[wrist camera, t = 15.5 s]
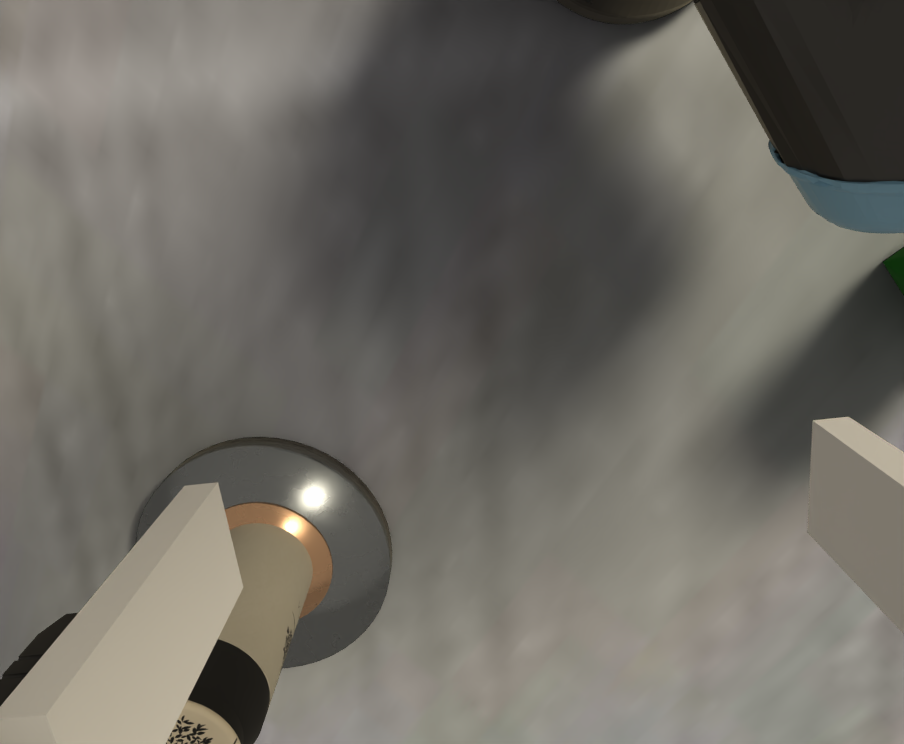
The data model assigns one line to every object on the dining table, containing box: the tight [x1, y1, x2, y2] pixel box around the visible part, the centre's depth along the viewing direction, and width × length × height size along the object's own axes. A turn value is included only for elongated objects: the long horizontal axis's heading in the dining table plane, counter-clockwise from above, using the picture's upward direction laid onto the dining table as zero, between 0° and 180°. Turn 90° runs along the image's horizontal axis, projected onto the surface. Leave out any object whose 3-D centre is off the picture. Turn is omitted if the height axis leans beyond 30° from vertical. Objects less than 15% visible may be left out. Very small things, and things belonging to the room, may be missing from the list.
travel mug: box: [166, 523, 313, 744], centre depth 44 cm, size 8×8×18 cm
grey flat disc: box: [136, 437, 392, 668], centre depth 54 cm, size 20×20×2 cm
